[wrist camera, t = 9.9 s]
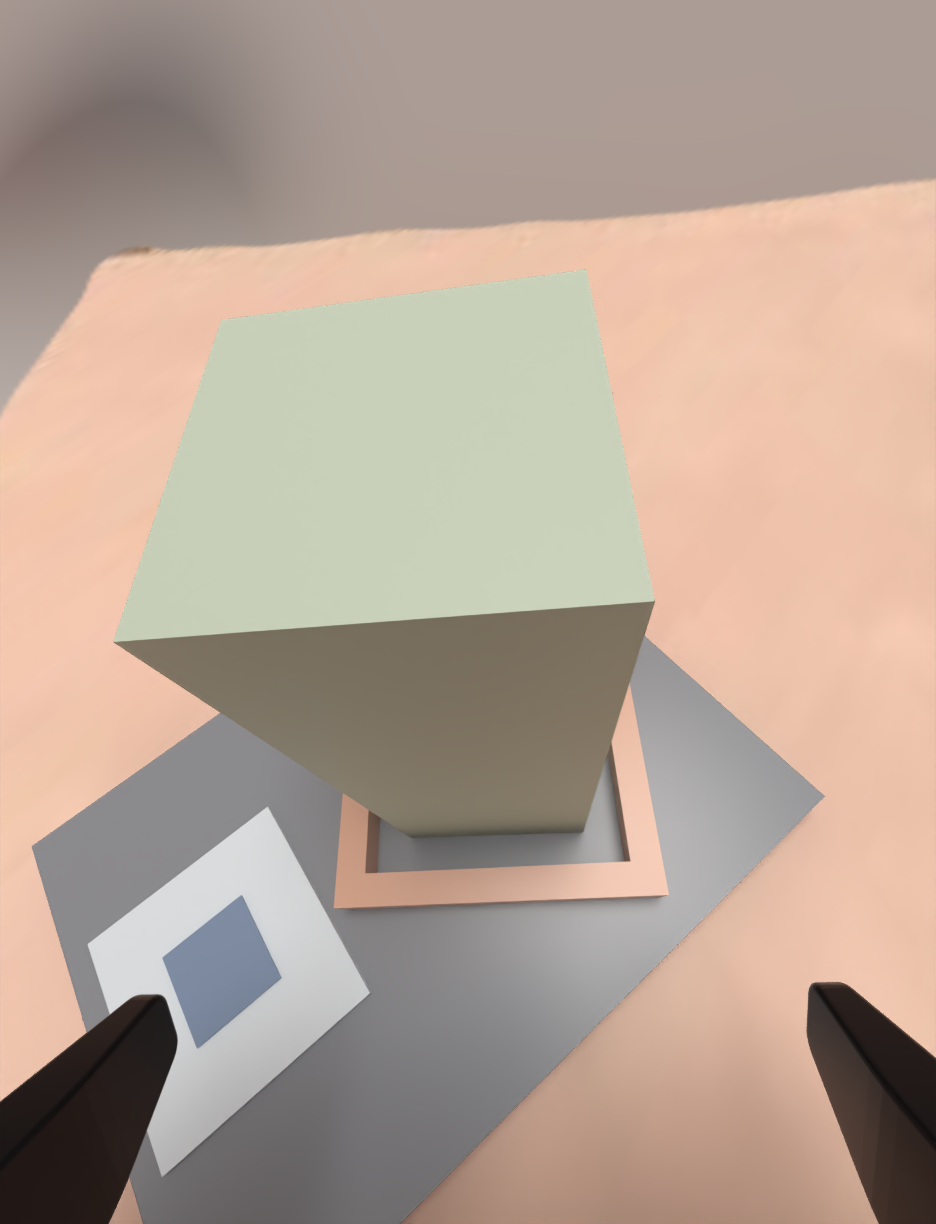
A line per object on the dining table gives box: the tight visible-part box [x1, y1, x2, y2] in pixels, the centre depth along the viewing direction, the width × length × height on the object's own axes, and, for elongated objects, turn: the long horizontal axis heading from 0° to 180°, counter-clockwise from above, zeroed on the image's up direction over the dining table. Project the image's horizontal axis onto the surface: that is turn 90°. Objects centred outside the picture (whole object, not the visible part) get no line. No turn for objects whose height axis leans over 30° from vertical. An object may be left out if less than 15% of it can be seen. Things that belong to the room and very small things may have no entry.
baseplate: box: [32, 636, 825, 1224], centre depth 17 cm, size 20×14×2 cm
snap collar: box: [334, 683, 669, 910], centre depth 17 cm, size 9×9×1 cm
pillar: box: [113, 270, 655, 838], centre depth 12 cm, size 5×5×13 cm
